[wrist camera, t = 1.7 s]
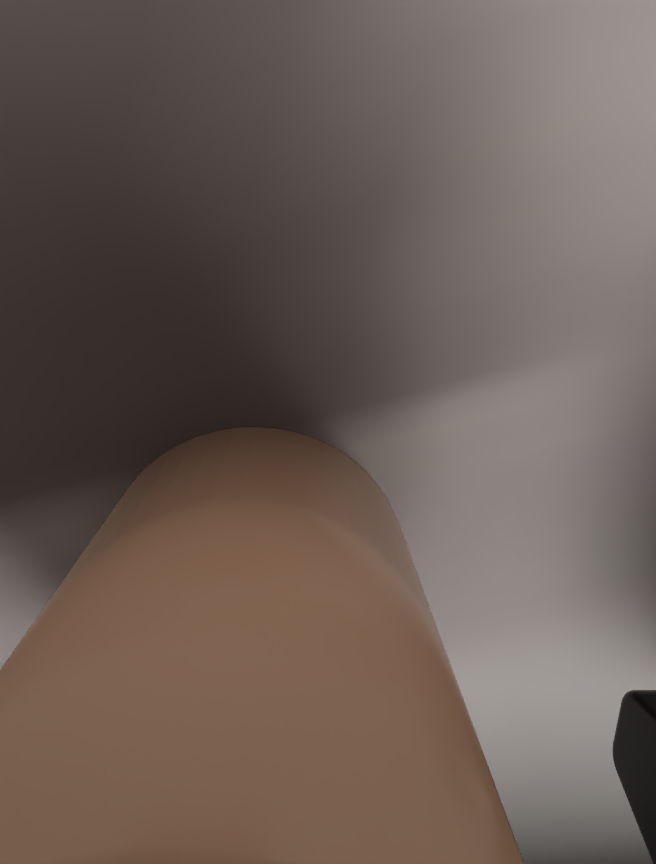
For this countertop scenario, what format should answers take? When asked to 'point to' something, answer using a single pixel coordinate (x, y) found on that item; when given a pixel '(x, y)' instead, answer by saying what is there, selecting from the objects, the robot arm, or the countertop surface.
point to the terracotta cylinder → (243, 680)
